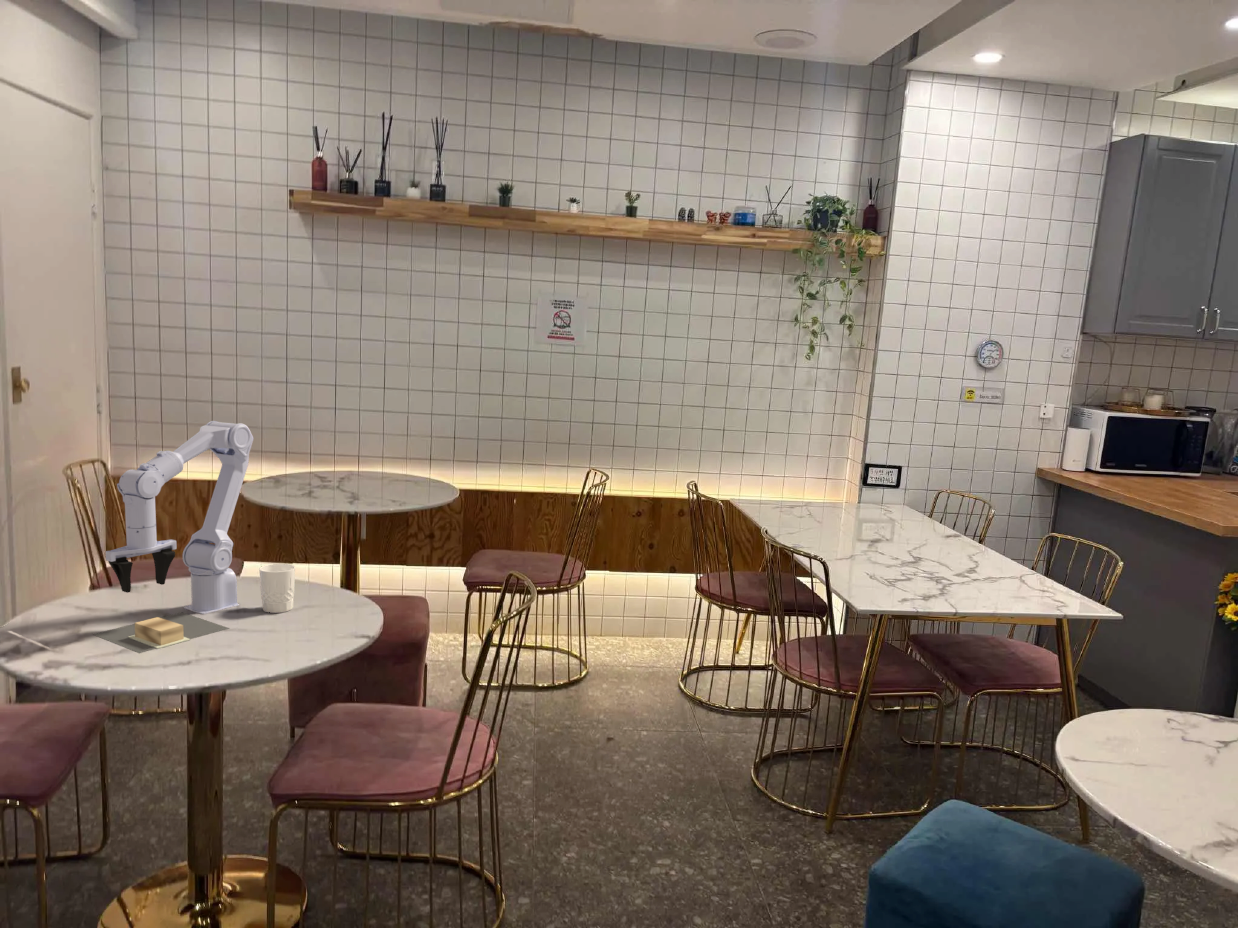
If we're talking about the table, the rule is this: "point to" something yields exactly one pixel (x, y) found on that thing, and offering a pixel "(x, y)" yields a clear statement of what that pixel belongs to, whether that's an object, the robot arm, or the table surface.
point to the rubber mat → (127, 639)
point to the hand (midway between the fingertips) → (143, 587)
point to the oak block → (159, 631)
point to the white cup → (277, 587)
